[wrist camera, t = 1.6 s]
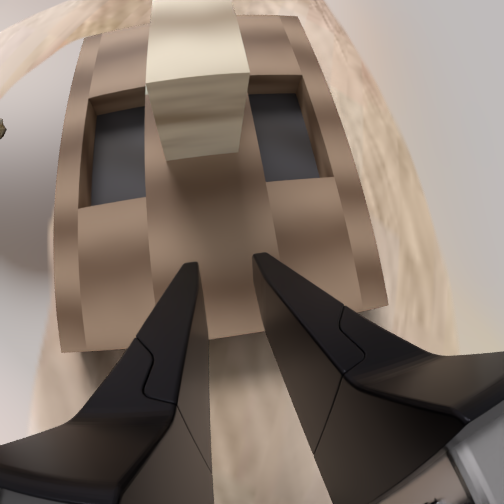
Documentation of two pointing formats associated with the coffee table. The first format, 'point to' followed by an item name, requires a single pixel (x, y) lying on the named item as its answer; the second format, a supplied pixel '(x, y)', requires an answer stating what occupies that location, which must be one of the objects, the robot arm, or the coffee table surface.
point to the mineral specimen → (2, 129)
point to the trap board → (203, 194)
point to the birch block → (196, 77)
